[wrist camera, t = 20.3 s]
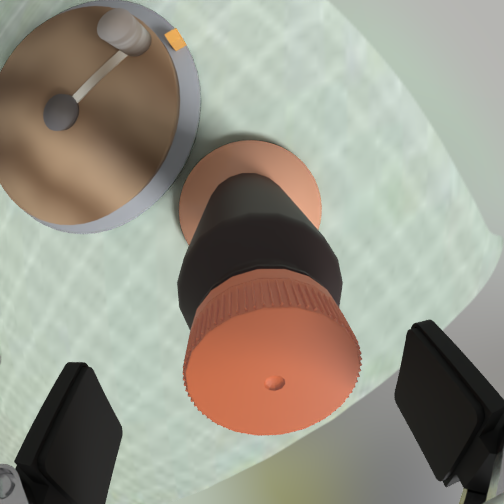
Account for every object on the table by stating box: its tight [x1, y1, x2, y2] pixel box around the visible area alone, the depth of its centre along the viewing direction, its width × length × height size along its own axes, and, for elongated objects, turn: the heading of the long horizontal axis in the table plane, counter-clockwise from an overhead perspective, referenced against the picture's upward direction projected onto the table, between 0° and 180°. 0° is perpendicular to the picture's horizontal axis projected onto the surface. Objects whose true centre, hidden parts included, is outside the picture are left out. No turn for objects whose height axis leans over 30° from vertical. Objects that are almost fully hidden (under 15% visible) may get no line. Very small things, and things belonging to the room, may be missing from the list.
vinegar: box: [177, 173, 362, 436], centre depth 18 cm, size 7×7×20 cm
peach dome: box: [179, 140, 322, 245], centre depth 28 cm, size 12×12×1 cm
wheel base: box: [25, 0, 201, 234], centre depth 23 cm, size 22×22×3 cm
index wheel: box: [0, 6, 180, 225], centre depth 20 cm, size 19×19×7 cm
